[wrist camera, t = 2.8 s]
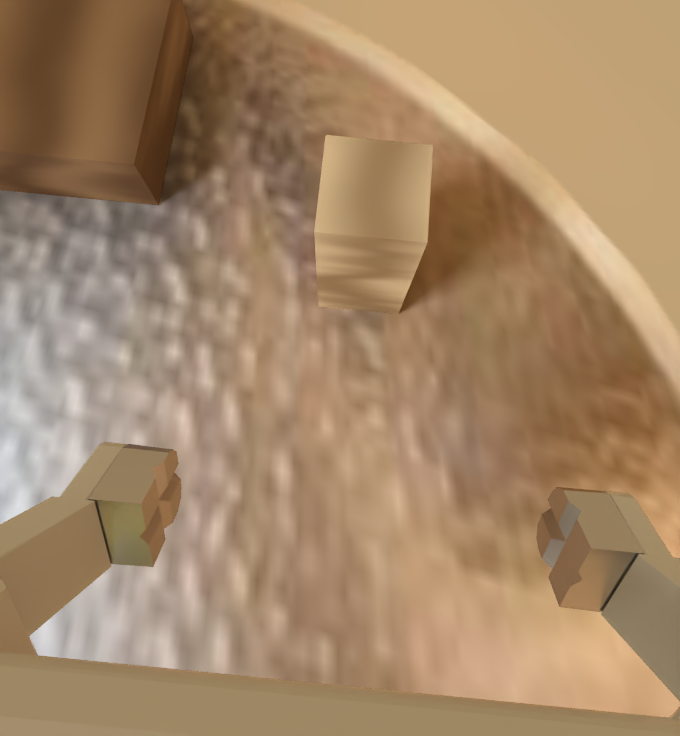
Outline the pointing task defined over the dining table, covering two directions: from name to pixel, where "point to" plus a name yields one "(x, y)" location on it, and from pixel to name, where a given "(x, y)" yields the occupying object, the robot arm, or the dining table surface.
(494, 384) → the dining table surface
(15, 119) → the walnut base block
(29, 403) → the dining table surface
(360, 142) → the maple block
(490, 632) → the dining table surface
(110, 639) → the dining table surface
